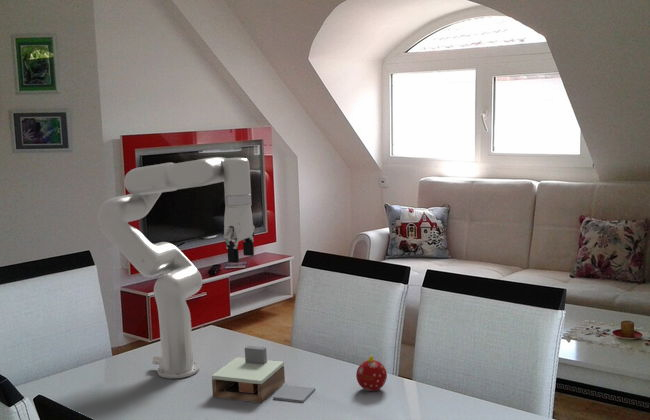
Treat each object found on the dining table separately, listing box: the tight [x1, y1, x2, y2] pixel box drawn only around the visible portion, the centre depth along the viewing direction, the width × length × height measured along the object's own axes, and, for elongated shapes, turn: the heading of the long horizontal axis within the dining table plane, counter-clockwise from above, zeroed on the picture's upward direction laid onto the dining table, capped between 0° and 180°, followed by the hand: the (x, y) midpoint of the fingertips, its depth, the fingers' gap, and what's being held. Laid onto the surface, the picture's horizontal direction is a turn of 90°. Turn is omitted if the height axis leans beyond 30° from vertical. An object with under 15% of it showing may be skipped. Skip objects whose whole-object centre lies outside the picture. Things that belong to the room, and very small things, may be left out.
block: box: [238, 382, 258, 394], centre depth 205 cm, size 4×4×4 cm
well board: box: [211, 365, 286, 404], centre depth 205 cm, size 15×15×5 cm
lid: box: [211, 345, 285, 384], centre depth 205 cm, size 15×15×6 cm
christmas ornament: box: [355, 355, 388, 392], centre depth 202 cm, size 9×9×10 cm
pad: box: [272, 384, 316, 403], centre depth 201 cm, size 9×9×1 cm
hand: (241, 258), depth 208 cm, fingers open, 9 cm apart
